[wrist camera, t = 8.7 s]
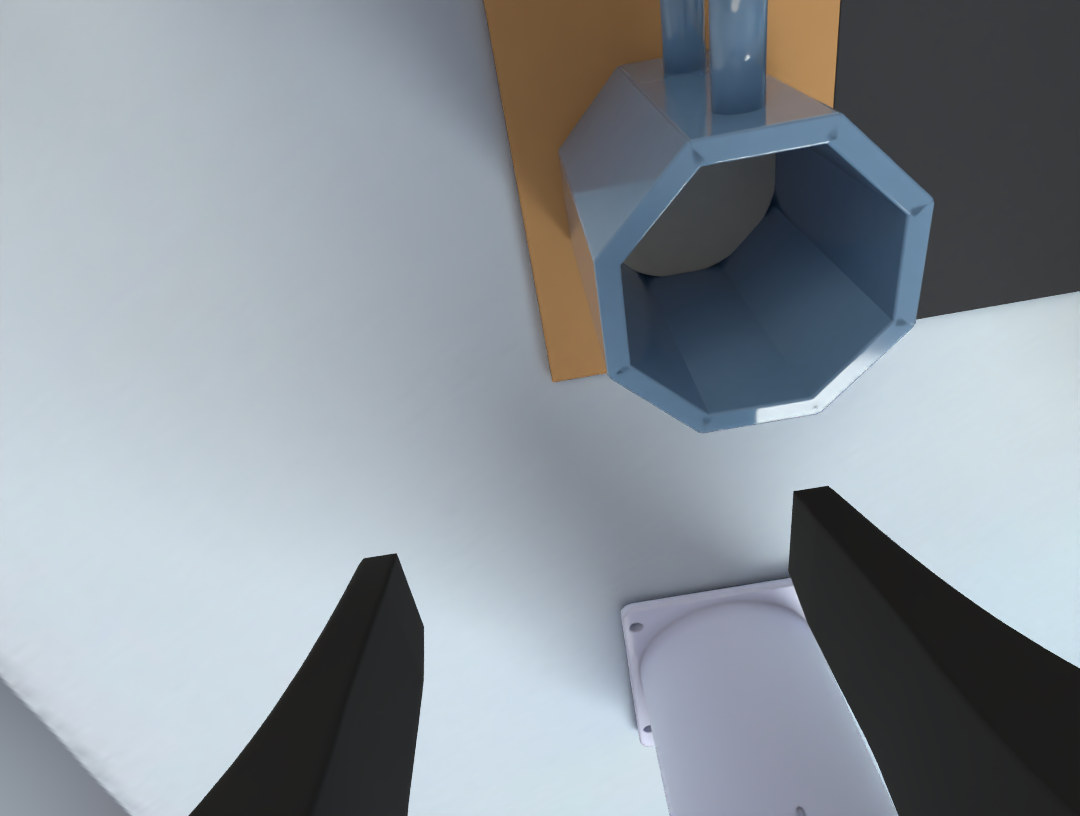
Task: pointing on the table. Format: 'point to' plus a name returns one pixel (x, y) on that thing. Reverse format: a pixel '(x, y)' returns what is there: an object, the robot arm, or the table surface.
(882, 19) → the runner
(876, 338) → the mug
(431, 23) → the table surface
